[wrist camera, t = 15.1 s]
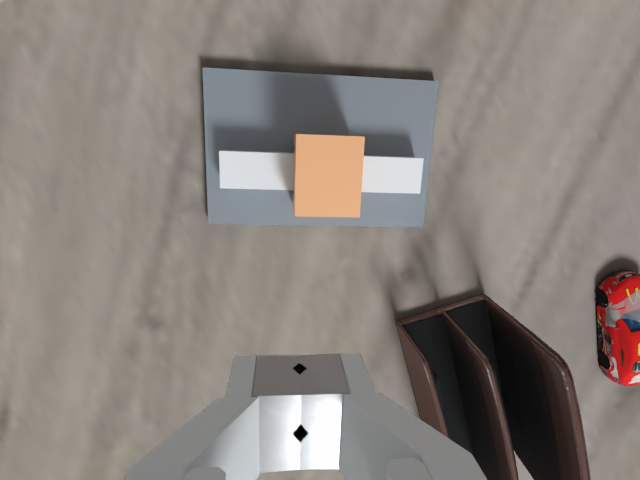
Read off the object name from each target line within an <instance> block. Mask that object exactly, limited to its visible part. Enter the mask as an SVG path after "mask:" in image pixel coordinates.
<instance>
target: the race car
mask: <svg viewBox="0 0 640 480" xmlns="http://www.w3.org/2000/svg"><path fill="white" fill-rule="evenodd" d="M599 288H600V289H597V290H595V293H596V298H595V300H596V301H597V303H598V304H599V305H597V322H598V349H599V350H600V351H598V352H597V353H598V361H599V363H600V364H601V365H600V368H601V370H602V372H603V373H604V375H605V376H607V377H608V378H609V379H611V380H612V381H613V382H616V383H619V384H621V385H624V386H632V385H636V384H640V274H638V273H635V272H633V271H628V270H627V271H619V272H616V273H614V274H612V275H611V276H609V277H607V278H606V279H605V280H604V281H603V282H602V283H601V284H600V286H599Z"/></svg>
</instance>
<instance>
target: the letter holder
mask: <svg viewBox="0 0 640 480" xmlns="http://www.w3.org/2000/svg"><path fill="white" fill-rule="evenodd" d="M396 325H397V329H398V333H399V336H400V340H401V344H402V348H403V352H404V356H405V360H406V363H407V368H408V372H409V376H410V380H411V384H412V387H413V391H414V395H415V399H416V403H417V407H418V411H419V414H420V418H421V420H422V421H424V422H425V423H426V424H428V425H429V426H431V427H432V428H434V429H435V430H437V431H438V432H440V433H441V434H443V435H444V436H446V437H447V438H449V439H450V440H452V441H453V442H455V443H456V444H458V445H459V446H461V447H462V448H464V449H465V450H467V451H468V452H470V453H471V454H472V455H473V457H474V458H475V460H476V462H477V463H478V465H479V467H480V468H481V470H482V472H483V473H484V475H485V477H486V478H487V480H519V479H518V472H517V467H516V461H515V455H514V451H515V453H516V454H517V456H518V457H519V459H520V460H521V461H522V463H523V464H524V466H525V467H526V469H527V470H528V472H529V473H530V474H531V476H532V477H533V479H534V480H591V478H590V470H589V463H588V458H587V451H586V444H585V438H584V432H583V425H582V419H581V414H580V409H579V404H578V400H577V395H576V390H575V386H574V381H573V377H572V374H571V372H570V369H569V367H568V365H567V364H566V362H565V361H564V359H563V358H562V357H561V356H560V355H559V354H558V353H557V352H556V351H554V350H553V349H552V348H551V347H549V346H548V345H547V344H546V343H545V342H543V341H542V340H541V339H540V338H539V337H537V336H536V335H535V334H534V333H533V332H531V331H530V330H529V329H528V328H526V327H525V326H524V325H522V324H521V323H520V322H519V321H517V320H516V319H515V318H514V317H513V316H511V315H510V314H509V313H508V312H506V311H505V310H504V309H503V308H501V307H500V306H498V305H497V304H496V303H495V302H494V301H493V300H491V299H490V298H489V297H488V296H486V295H479V296H475V297H472V298H469V299H465V300H462V301H459V302H456V303H453V304H449V305H446V306H443V307H440V308H436V309H433V310H430V311H427V312H424V313H421V314H417V315H414V316H411V317H408V318H404V319H401V320H398V321H396Z"/></svg>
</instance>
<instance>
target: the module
mask: <svg viewBox="0 0 640 480" xmlns="http://www.w3.org/2000/svg"><path fill="white" fill-rule="evenodd" d="M364 144H365V137H363V136H337V135H311V134H295V135H294V195H293V209H294V216H298V217H360V207H361V191H362V175H363V160H364Z"/></svg>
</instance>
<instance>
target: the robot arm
mask: <svg viewBox="0 0 640 480" xmlns="http://www.w3.org/2000/svg"><path fill="white" fill-rule="evenodd" d="M299 469H300V470H302V469H339V472H340V473H341V474H342V475H343V477H344V478H345V479H346V480H487V478H486V477H485V475H484V473H483V472H482V470H481V468H480V467H479V465H478V463H477V462H476V460H475V458H474V457H473V455H472V454H471V453H470V452H468V451H467V450H465V449H464V448H462V447H461V446H459V445H458V444H456V443H455V442H453V441H452V440H450V439H449V438H447V437H446V436H444V435H443V434H441V433H440V432H438V431H437V430H435V429H434V428H432V427H431V426H429V425H428V424H426V423H425V422H424V421H422V420H421V419H419V418H418V417H416V416H415V415H413V414H412V413H410V412H409V411H407V410H406V409H404V408H403V407H401V406H400V405H398V404H397V403H395V402H394V401H392V400H391V399H389V398H388V397H386V396H385V395H383V394H382V393H375V391H374V388H373V386H372V383H371V380H370V378H369V375H368V372H367V370H366V367H365V364H364V362H363V359H362V356H361V354H360V353H342V354H318V355H256V354H255V355H236V356H235V357H234V359H233V364H232V368H231V373H230V377H229V382H228V386H227V390H226V395H225V398H218V399H217V400H215V401H214V402H213V403H211V404H210V405H209V406H208V407H206V408H205V409H204V410H203V411H201V412H200V413H199V414H198V415H196V416H195V417H194V418H192V419H191V420H190V421H189V422H187V423H186V424H185V425H184V426H182V427H181V428H180V429H178V430H177V431H176V432H175V433H173V434H172V435H171V436H170V437H168V438H167V439H166V440H165V441H163V442H162V443H161V444H159V445H158V446H157V447H156V448H154V449H153V450H152V451H151V452H149V453H148V454H147V455H145V456H144V457H143V458H142V459H140V460H139V461H138V462H137V463H135V464H134V465H133V466H132V467H130V468H129V469H128V471H127V473H126V475H125V477H124V479H123V480H256V479H257V478H258V476H259V473H262V472H274V471H287V470H299Z"/></svg>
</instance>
